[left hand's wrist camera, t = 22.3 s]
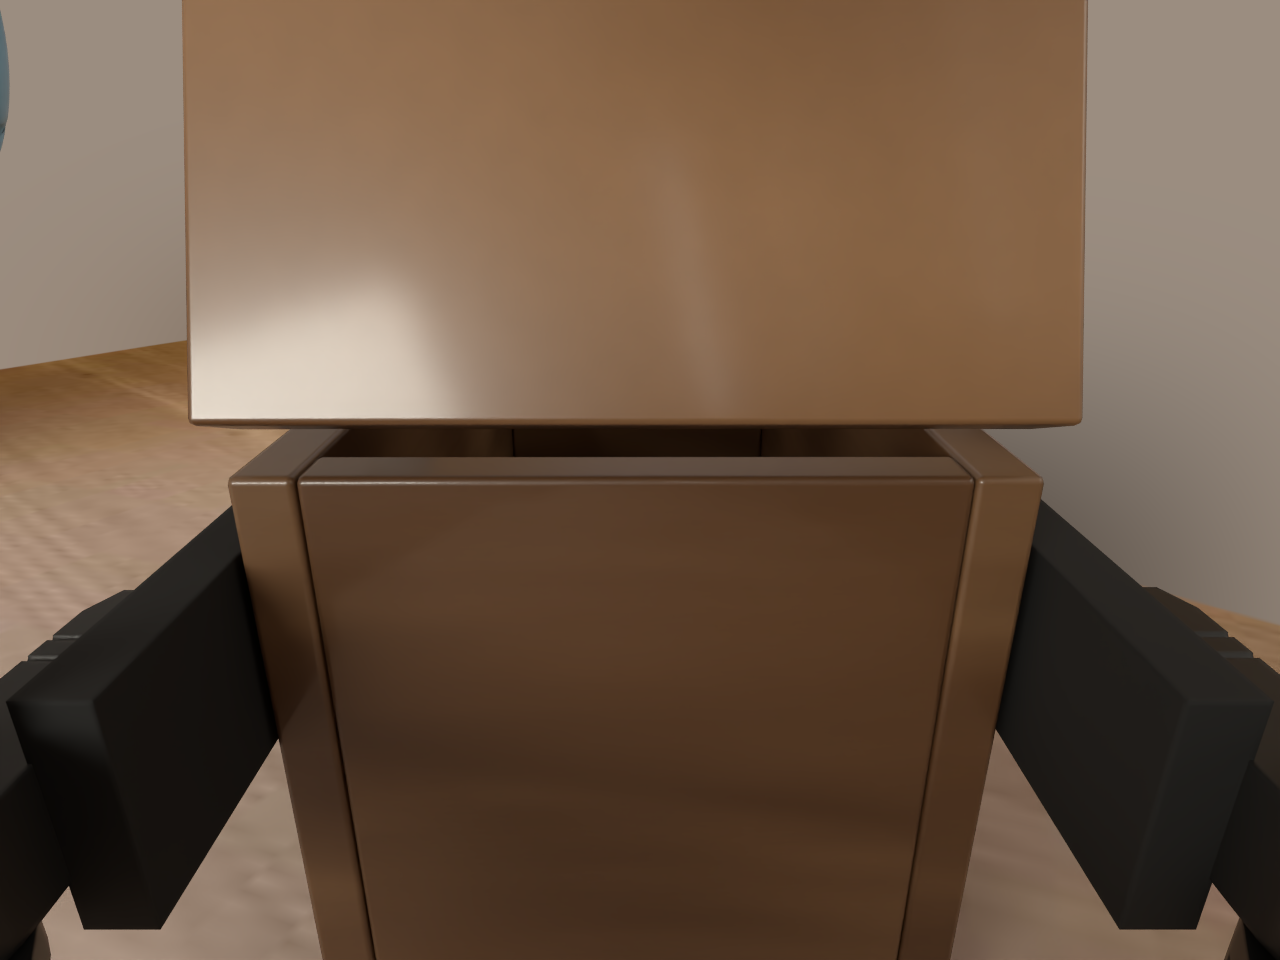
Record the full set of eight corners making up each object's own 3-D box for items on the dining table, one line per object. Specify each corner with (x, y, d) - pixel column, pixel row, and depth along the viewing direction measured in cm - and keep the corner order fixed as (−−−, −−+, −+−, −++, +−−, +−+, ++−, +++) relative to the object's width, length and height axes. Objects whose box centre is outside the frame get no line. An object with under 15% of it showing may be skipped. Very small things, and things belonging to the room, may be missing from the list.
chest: (500, 564, 28) (480, 275, 24) (773, 564, 28) (793, 275, 24) (339, 1052, 13) (222, 478, 9) (935, 1051, 13) (1048, 478, 9)
